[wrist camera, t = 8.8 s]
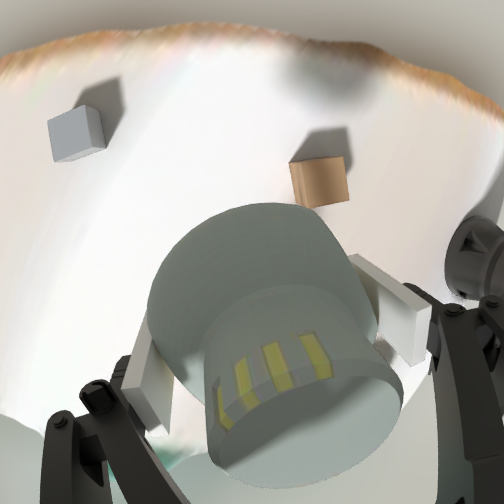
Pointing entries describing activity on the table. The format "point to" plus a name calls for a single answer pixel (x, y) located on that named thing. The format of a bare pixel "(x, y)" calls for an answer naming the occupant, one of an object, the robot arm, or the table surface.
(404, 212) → the table surface
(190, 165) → the table surface
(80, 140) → the grey block
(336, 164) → the walnut block
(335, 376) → the air freshener
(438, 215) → the table surface
